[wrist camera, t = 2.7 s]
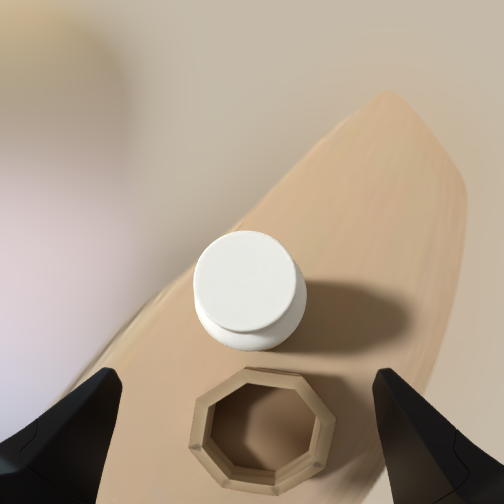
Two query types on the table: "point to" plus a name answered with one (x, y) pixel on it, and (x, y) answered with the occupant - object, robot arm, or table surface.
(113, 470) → the table surface
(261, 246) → the supplement bottle
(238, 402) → the can holder
